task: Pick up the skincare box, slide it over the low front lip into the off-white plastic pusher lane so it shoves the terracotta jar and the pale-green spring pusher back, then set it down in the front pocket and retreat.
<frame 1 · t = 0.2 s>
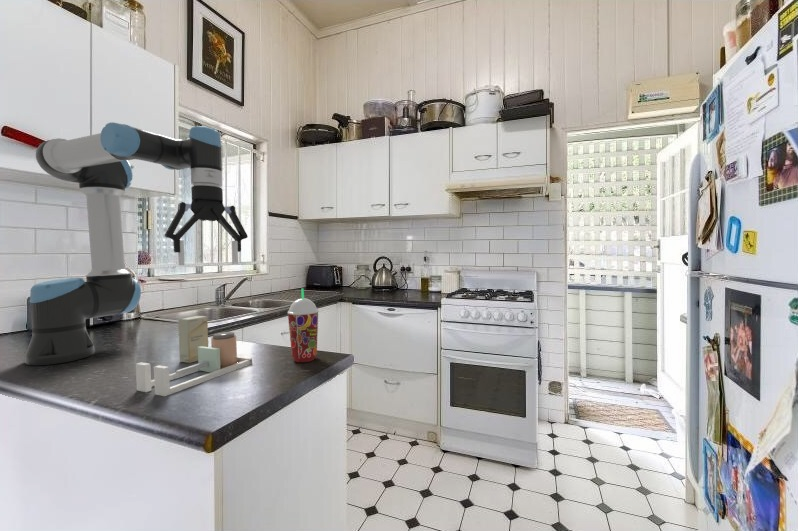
hand: (209, 264, 101), 27 cm above the countertop, fingers open, 13 cm apart
lane: (200, 375, 91), on the countertop
skincare box: (194, 360, 105), on the countertop
pusher: (194, 364, 89), point 3 cm above the countertop, slide at 0.0 cm
smoothie: (304, 360, 103), on the countertop
jar: (224, 367, 98), resting in lane
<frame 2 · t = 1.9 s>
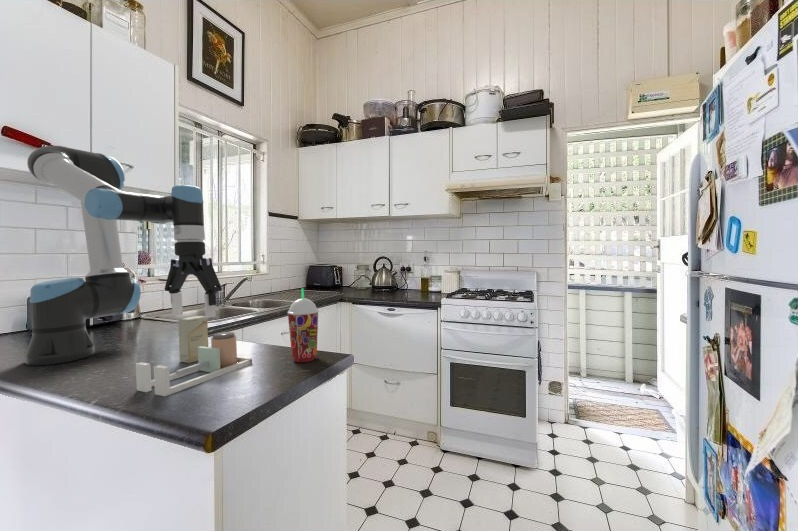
hand: (193, 316, 104), 12 cm above the countertop, fingers open, 13 cm apart
nothing on the countertop moved.
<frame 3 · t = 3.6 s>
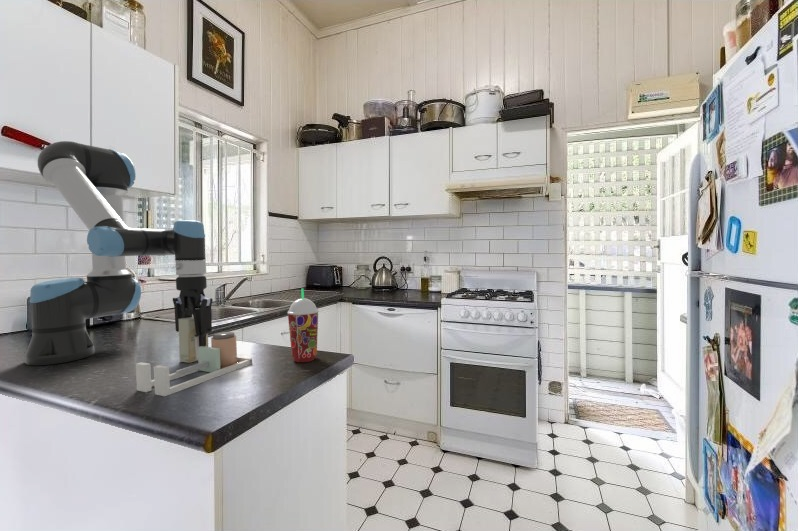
hand: (194, 357, 105), 1 cm above the countertop, fingers closed on skincare box, 4 cm apart
skincare box: (194, 360, 105), on the countertop, touching gripper
everything else where it was.
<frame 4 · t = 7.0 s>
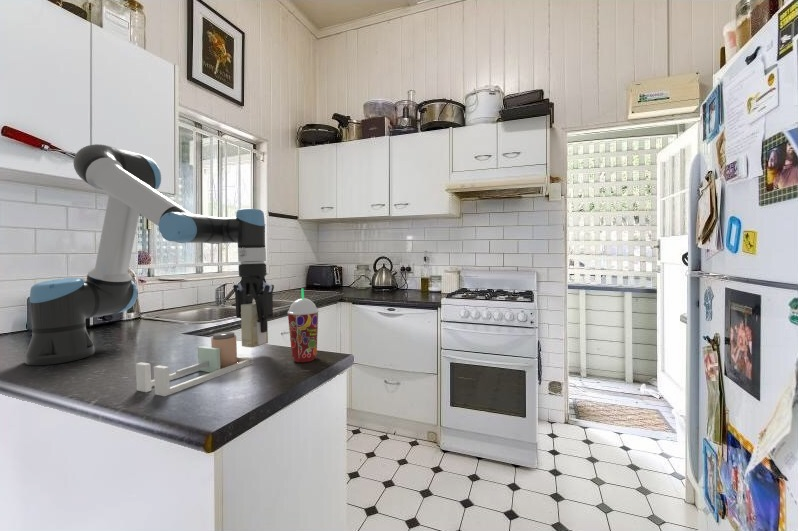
hand: (255, 342, 107), 4 cm above the countertop, fingers closed on skincare box, 4 cm apart
skincare box: (255, 345, 107), point 3 cm above the countertop, touching gripper
everything else where it was.
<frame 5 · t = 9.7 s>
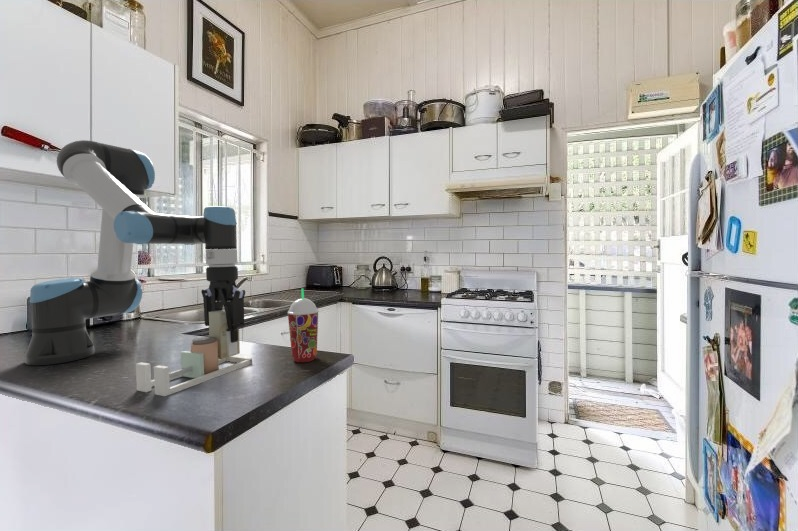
hand: (225, 353, 98), 4 cm above the countertop, fingers closed on skincare box, 4 cm apart
skincare box: (225, 356, 98), point 3 cm above the countertop, touching gripper, jar
pusher: (176, 369, 85), point 3 cm above the countertop, slide at 4.6 cm, touching jar
jar: (205, 373, 92), resting in lane, touching skincare box, pusher
everything else where it was.
when the fingers open (2 cm above the countertop, at t = 10.7 s): skincare box drops 2 cm, resting in lane.
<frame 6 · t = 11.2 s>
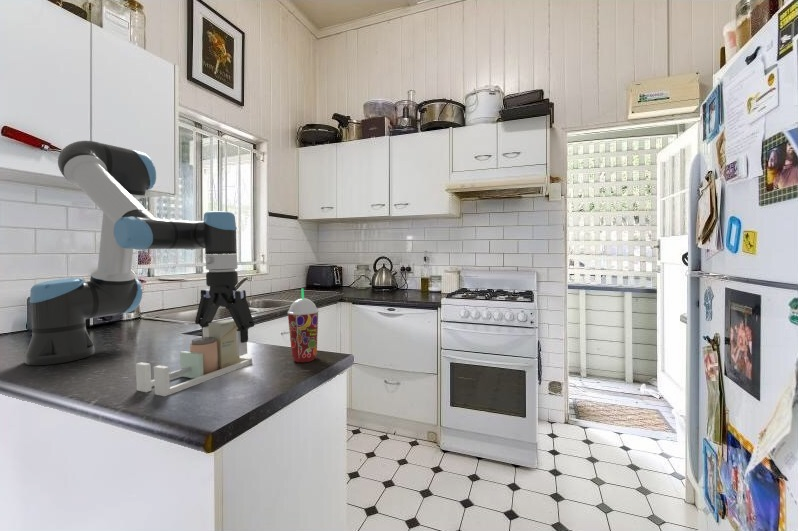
hand: (225, 352, 98), 4 cm above the countertop, fingers open, 11 cm apart
skincare box: (225, 367, 98), resting in lane
pusher: (175, 370, 85), point 3 cm above the countertop, slide at 4.8 cm
jar: (205, 374, 92), resting in lane
everything else where it was.
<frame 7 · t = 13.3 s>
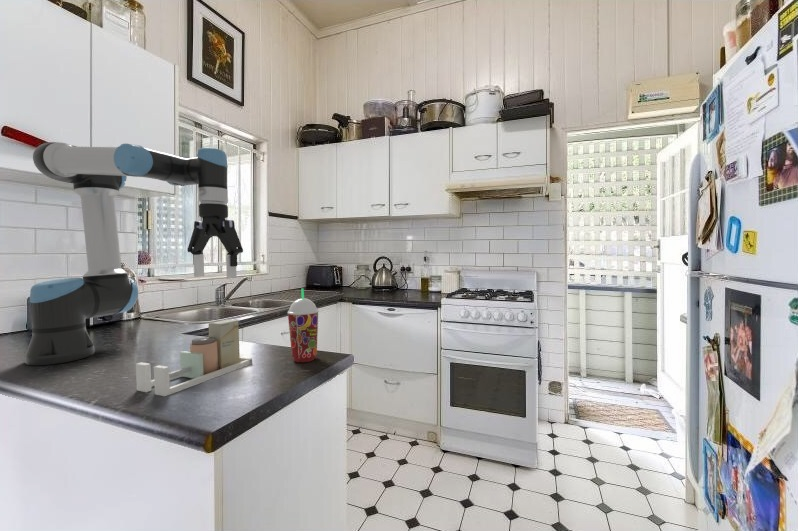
hand: (214, 277, 107), 23 cm above the countertop, fingers open, 13 cm apart
nothing on the countertop moved.
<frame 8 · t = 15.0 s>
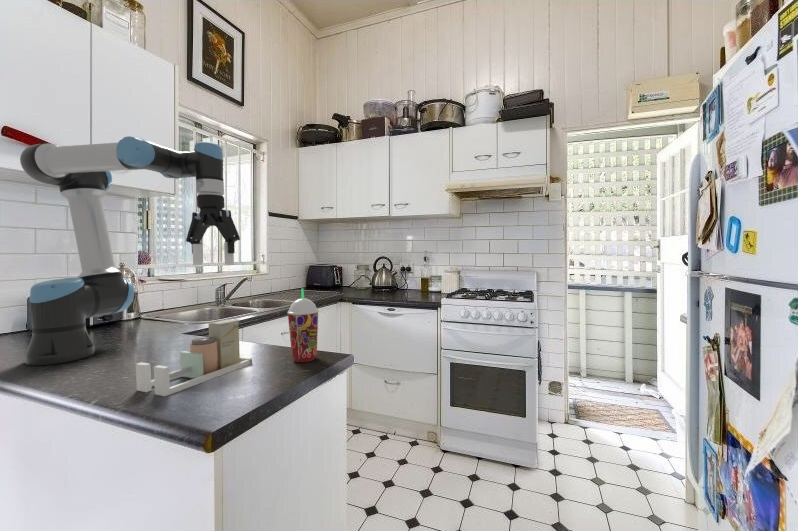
hand: (213, 264, 113), 27 cm above the countertop, fingers open, 13 cm apart
nothing on the countertop moved.
at the end: skincare box inside the target area on the lane (0.6 cm from its centre), point 0.0 cm above the lane's base; skincare box tilted 0°; the gripper is holding nothing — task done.
